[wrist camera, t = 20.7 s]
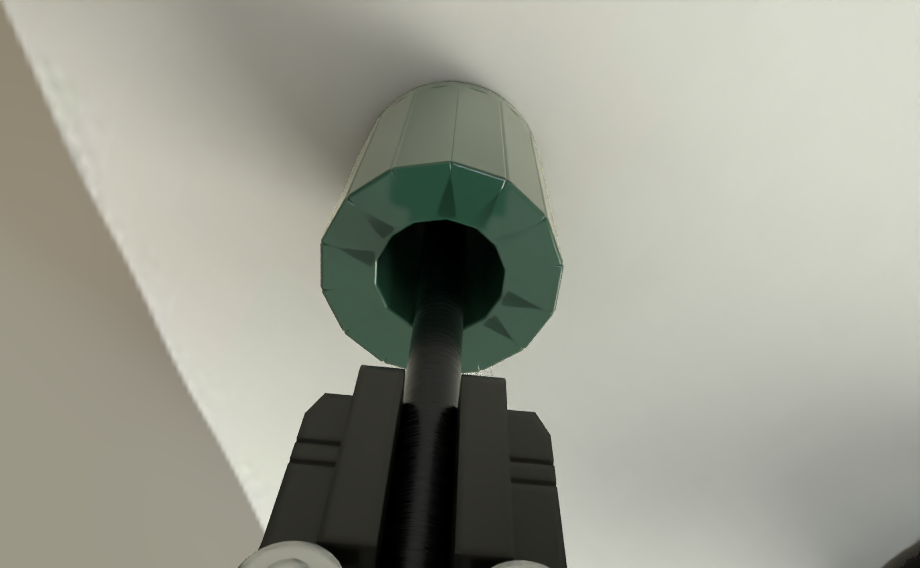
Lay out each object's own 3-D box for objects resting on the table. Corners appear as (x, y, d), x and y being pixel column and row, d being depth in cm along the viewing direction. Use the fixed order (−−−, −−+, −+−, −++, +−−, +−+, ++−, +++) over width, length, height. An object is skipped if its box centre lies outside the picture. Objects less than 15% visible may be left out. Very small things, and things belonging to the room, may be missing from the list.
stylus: (433, 205, 21) (350, 751, 8) (435, 173, 20) (352, 698, 7) (466, 208, 21) (441, 759, 8) (470, 176, 20) (450, 707, 7)
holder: (362, 239, 23) (320, 366, 17) (367, 70, 20) (319, 148, 14) (525, 255, 23) (541, 387, 17) (551, 88, 21) (581, 174, 15)
